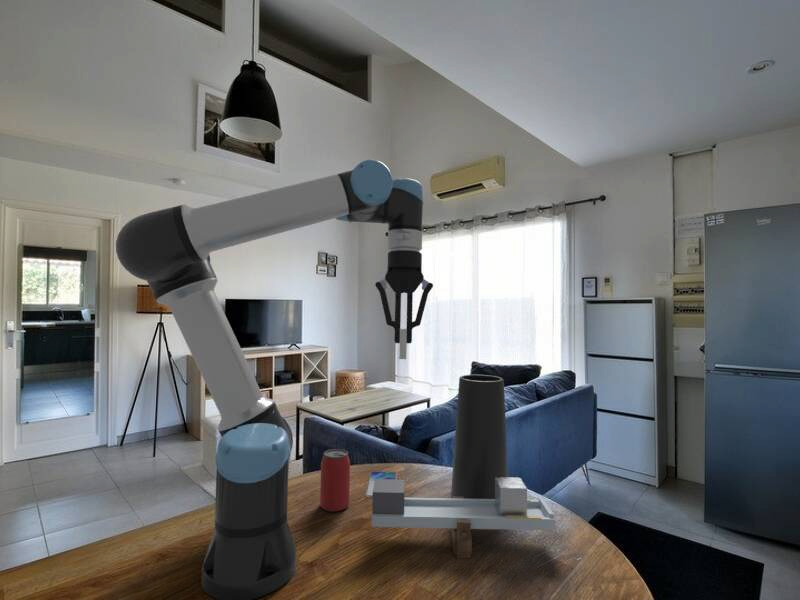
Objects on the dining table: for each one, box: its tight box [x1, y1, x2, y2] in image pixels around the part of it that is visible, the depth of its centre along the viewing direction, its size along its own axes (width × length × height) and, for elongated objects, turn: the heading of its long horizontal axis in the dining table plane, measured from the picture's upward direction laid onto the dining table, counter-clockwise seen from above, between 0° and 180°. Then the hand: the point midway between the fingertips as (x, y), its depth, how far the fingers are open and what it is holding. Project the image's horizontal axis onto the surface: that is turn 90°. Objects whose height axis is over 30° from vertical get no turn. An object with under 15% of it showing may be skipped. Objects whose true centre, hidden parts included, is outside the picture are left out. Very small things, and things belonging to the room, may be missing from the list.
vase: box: [450, 374, 509, 499], centre depth 99 cm, size 14×14×29 cm
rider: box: [495, 476, 528, 516], centre depth 80 cm, size 5×5×6 cm
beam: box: [371, 479, 556, 531], centre depth 80 cm, size 34×8×6 cm, turn 89°
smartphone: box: [364, 471, 398, 499], centre depth 106 cm, size 7×1×15 cm
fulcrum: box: [449, 496, 473, 559], centre depth 80 cm, size 3×12×6 cm, turn 179°
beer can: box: [319, 448, 351, 513], centre depth 94 cm, size 7×7×12 cm
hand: (402, 358), depth 90 cm, fingers closed
